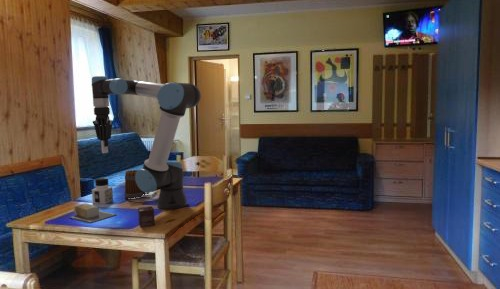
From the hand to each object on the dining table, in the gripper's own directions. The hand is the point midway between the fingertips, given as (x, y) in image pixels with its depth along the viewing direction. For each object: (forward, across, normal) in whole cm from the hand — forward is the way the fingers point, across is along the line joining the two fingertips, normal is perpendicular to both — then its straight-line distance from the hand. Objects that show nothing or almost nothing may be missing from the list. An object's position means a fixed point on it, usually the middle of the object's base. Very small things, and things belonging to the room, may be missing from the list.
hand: (105, 152), depth 198 cm
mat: (+28, -10, +17) cm, 34 cm away
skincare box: (+25, 0, +17) cm, 30 cm away
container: (+28, +9, -4) cm, 29 cm away
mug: (+28, -1, -20) cm, 34 cm away
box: (+29, -42, +15) cm, 53 cm away
